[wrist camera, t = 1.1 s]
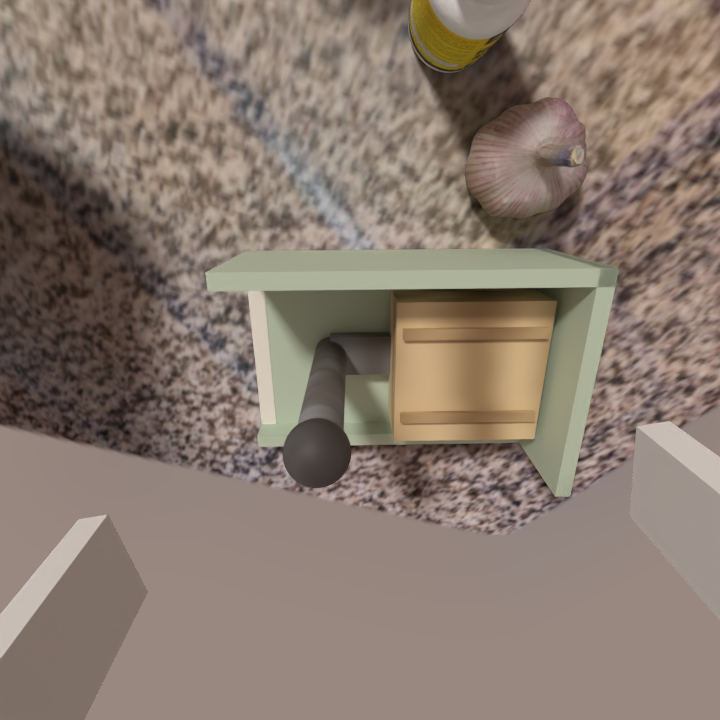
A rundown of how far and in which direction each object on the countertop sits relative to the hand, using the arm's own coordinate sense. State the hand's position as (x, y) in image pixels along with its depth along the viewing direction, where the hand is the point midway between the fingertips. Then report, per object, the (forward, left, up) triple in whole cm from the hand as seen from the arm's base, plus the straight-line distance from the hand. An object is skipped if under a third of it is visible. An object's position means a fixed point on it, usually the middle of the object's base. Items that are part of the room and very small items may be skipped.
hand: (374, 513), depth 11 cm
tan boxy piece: (+4, -4, -22) cm, 23 cm away
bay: (+3, -4, -23) cm, 23 cm away
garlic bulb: (+11, +9, -23) cm, 27 cm away
